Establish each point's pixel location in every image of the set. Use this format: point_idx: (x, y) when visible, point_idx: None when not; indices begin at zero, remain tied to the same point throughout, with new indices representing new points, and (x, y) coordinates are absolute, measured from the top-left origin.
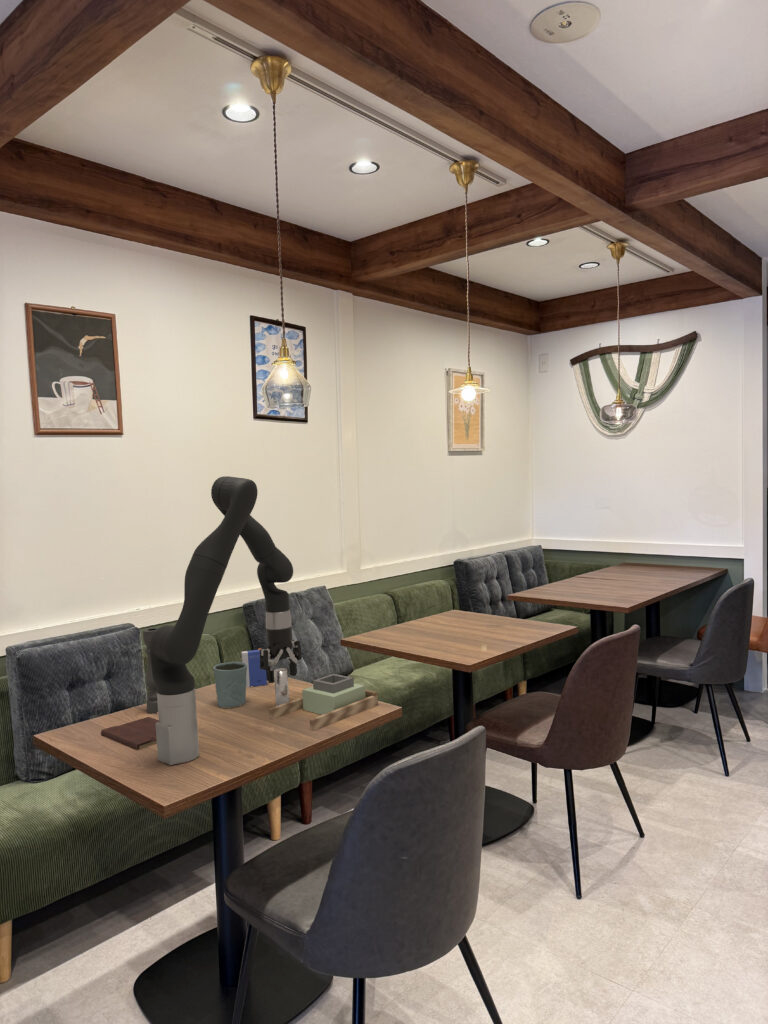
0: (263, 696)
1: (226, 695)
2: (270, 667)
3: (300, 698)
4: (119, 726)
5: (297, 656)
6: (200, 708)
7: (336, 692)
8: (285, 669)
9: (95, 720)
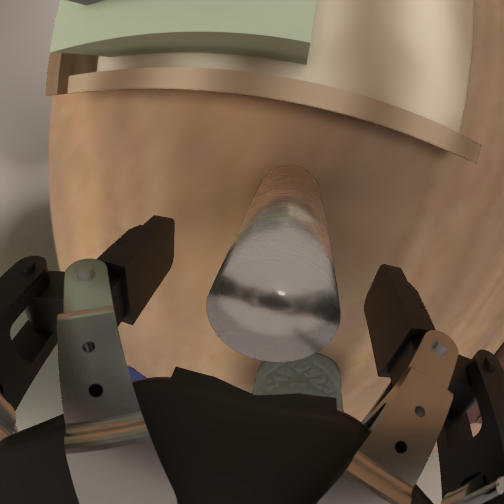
0: (199, 339)
1: (340, 400)
2: (454, 362)
3: (281, 90)
4: (481, 418)
5: (35, 302)
6: (353, 406)
7: None
8: (240, 287)
9: None
